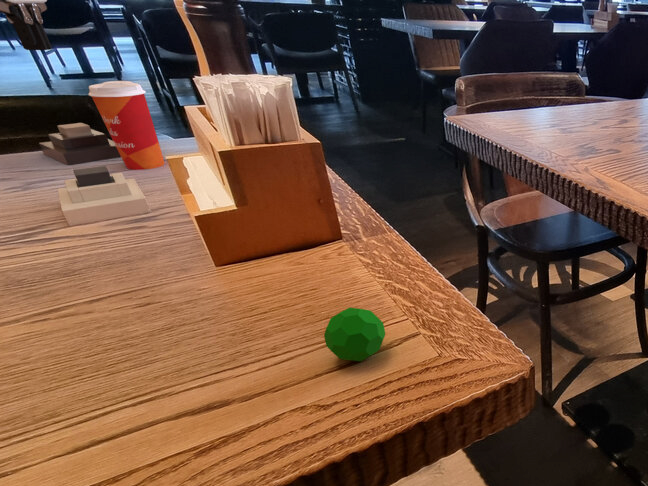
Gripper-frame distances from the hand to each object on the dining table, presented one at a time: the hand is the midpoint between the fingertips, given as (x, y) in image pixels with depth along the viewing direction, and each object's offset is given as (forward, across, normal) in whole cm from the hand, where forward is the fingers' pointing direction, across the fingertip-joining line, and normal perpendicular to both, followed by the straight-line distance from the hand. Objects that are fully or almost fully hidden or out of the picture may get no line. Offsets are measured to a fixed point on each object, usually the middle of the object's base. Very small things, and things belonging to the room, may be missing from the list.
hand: (38, 49), depth 90 cm
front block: (+19, +30, +19) cm, 40 cm away
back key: (+15, -2, -1) cm, 15 cm away
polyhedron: (+19, +74, +62) cm, 99 cm away
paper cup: (+19, +7, +13) cm, 24 cm away
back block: (+19, -2, -1) cm, 19 cm away
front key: (+15, +30, +19) cm, 38 cm away
